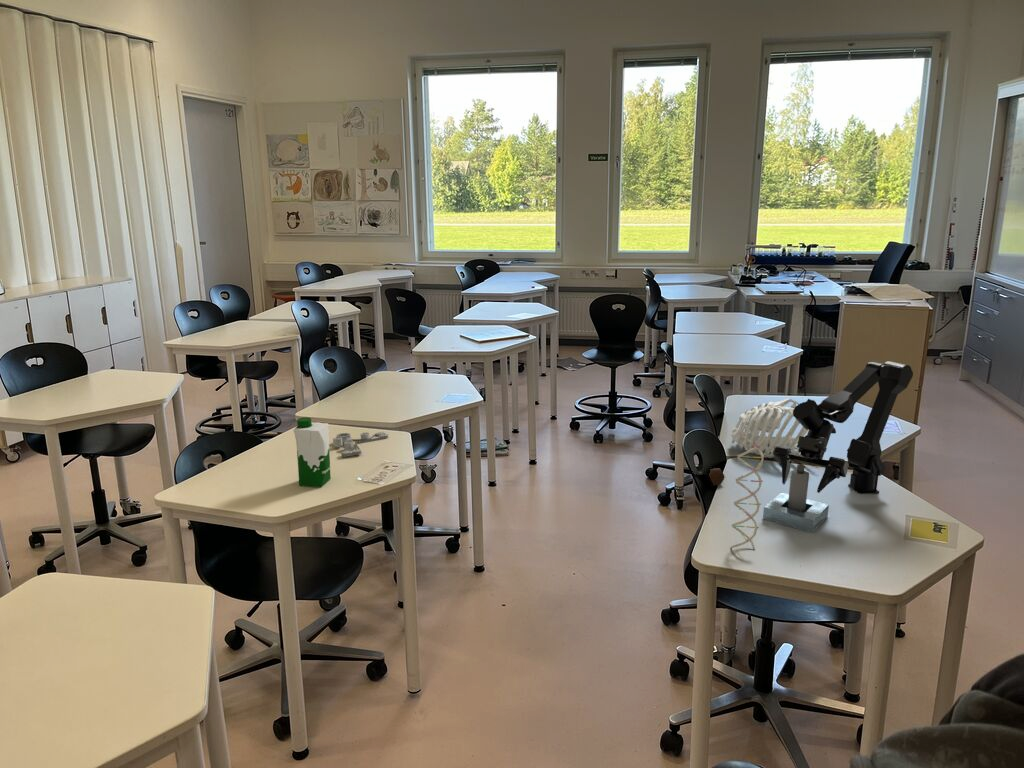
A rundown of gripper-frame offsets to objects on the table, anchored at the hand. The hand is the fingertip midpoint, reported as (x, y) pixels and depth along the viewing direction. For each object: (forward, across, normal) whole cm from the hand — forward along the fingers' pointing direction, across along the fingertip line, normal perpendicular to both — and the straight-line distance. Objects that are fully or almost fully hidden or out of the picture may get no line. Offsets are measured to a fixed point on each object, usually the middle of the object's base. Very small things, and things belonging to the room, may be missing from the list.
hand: (800, 488), depth 197 cm
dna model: (+26, -4, -14) cm, 29 cm away
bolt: (-2, -32, +15) cm, 36 cm away
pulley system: (+33, -140, -21) cm, 146 cm away
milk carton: (+54, -122, -43) cm, 140 cm away
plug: (+7, 0, +5) cm, 8 cm away
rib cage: (-28, -24, +41) cm, 55 cm away
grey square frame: (+7, 0, +5) cm, 8 cm away
